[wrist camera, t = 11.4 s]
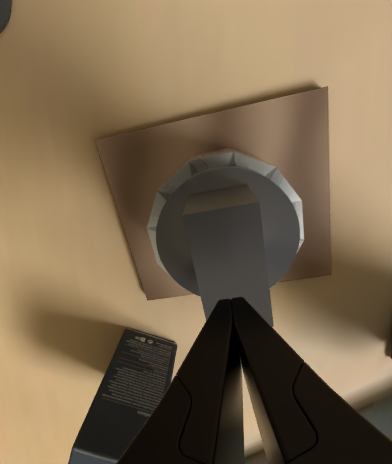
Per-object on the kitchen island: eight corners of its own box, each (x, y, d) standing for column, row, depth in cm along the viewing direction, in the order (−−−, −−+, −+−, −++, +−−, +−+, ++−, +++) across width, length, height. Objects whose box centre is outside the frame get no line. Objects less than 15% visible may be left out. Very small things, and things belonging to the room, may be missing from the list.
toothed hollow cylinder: (277, 137, 17) (298, 138, 13) (287, 255, 20) (306, 287, 16) (148, 164, 18) (130, 173, 14) (177, 272, 21) (169, 305, 17)
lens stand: (322, 88, 17) (328, 86, 16) (326, 269, 21) (330, 274, 21) (99, 139, 19) (94, 140, 18) (149, 295, 23) (147, 300, 23)
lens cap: (275, 149, 16) (328, 161, 9) (284, 258, 19) (330, 337, 12) (155, 173, 17) (114, 202, 10) (180, 274, 20) (163, 355, 12)
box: (125, 325, 25) (70, 449, 15) (178, 342, 25) (158, 473, 16) (109, 377, 28) (54, 510, 18) (157, 391, 28) (129, 528, 18)
